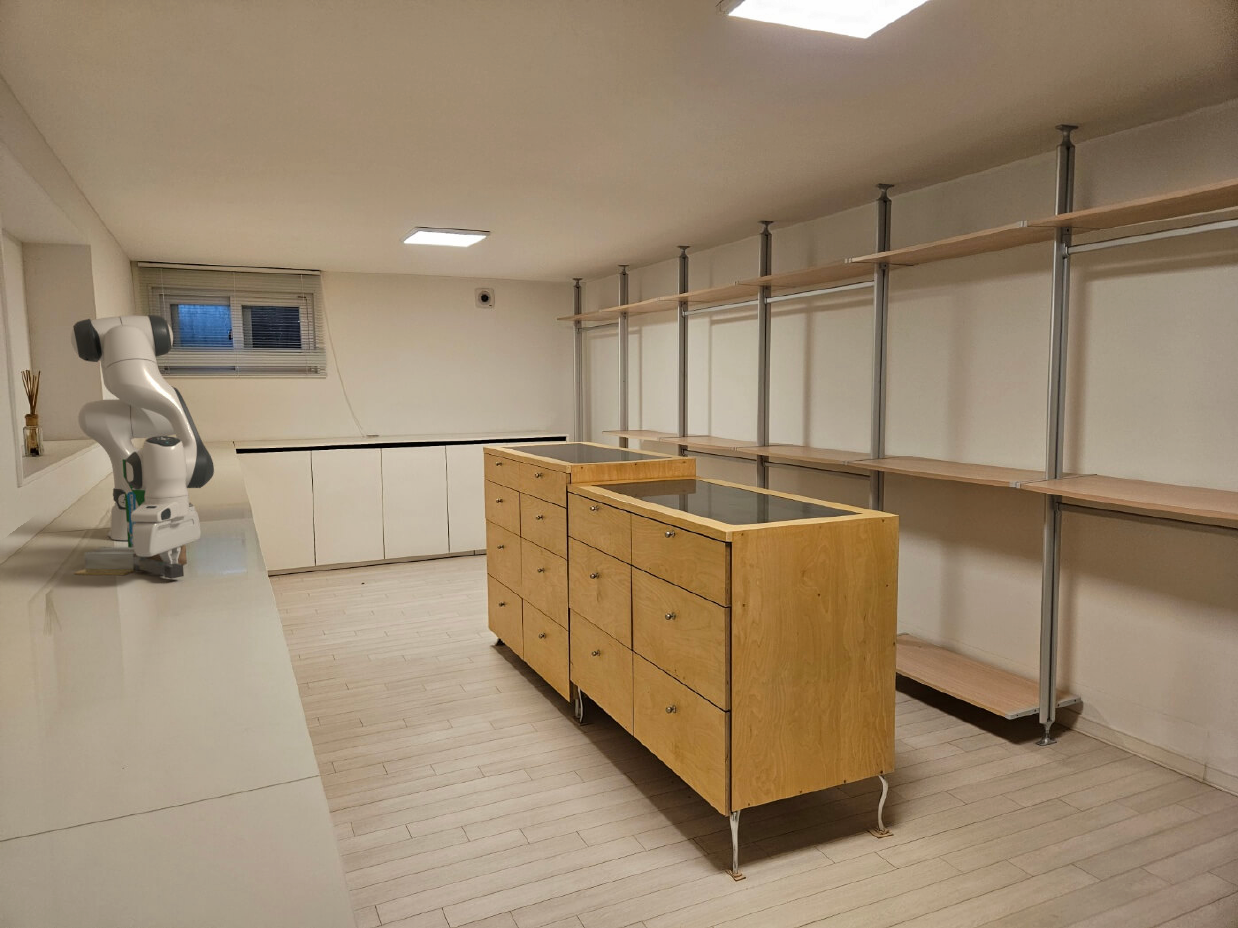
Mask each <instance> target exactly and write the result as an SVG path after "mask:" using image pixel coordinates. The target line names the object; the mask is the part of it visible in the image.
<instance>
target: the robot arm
mask: <svg viewBox="0 0 1238 928" xmlns="http://www.w3.org/2000/svg"><path fill="white" fill-rule="evenodd" d="M72 328H73V329H72V331H71V333H70V334H71V335H70V342H71V346H72V348H73V350H74V352H75V353H76V354H77V355H78V358H80V359H81V360H83V361H85V362H90V363H91V362H92V363H98V362H100V367H101V373H102V379H103V385H104V387H105V388H106V390H107V391H108V392H109V393H110V394H112V395H113V396H114V397H116V398H117V399H101V400H95V401H91V402H90V401H89V402H86V403H85V404H84V405H82V406H81V409H80V411H79V413H78V415H77V416H78V417H77V419H78V420H77V421H78V424H79V428H80V429H81V431H82V432H83V434H85V435H86V436H87V437H88V438H90V439H92V440H94V441H95V442H97V443H98V444H99V445H100V446H101V447H102V448H103V450H104V451H105V452H106V454H107V455H108V457H109V460H110V462H111V463H110V464H111V468H112V473H113V480H114V481H113V484H114V485H113V486H114V488H113V489H112V497H113V499H112V500H113V501H114V502H115V503H114V505H113V506H112V507H111V514H110V515H111V517H110V531H108V532H107V537H110V539H112V540H117V541H128V536H127V520H126V505H125V490H124V475H123V459H126V460H125V474H126V482H127V483H128V484H129V485H131V486H132V487H133V488H135V489H137V490H144V491H145V496H144V497H145V502H143V503H142V504H141V505H140V506H139V507H138V508H137V509H136V510H134V511H133V512H132V513H131V520H132V522H136V523H135V524H134V526H133V546H134V551H135V553H136V555H137V556H141V557H151V556H154V555H157V554H159V555H160V557H161V559H162V560H163V562H166V563H170V564H176V563H177V564H178V557H179V554H180V551H181V546H182V545H187V544H190V543H193V542H195V541H199V540H200V538H201V536H202V532H201V524H200V517H199V513H198V511H196V507H195V506H194V504H192V502H190V497H189V496H190V495H189V491H188V489H202V487H204V486H206V484H208V483H209V481H210V480H211V479H212V478H213V476H214V473H215V469H214V467H215V466H214V462H213V458H212V456H211V454H210V452H209V450H208V449H207V448H206V446H205V444H204V442H203V441H202V438H201V436H200V433H199V431H198V428H197V426H196V424H195V422H194V419H193V417H192V415H191V412H190V411H189V408H188V406H187V404H186V402H185V400H184V398H183V396H182V394H181V392H180V391H179V390H178V388H177V387H174V386H172V385H170V384H169V383H168V381H167V380H166V379H165V378H164V377H163V375H162V373H161V372H160V370H159V366H158V361H157V358H156V357H161V356H164V355H167V354H168V353H169V352H170V351H171V350H172V346H173V342H174V332H173V330H172V327H171V326H170V325H169V323H168V321H167V320H166V319H165V318H164V317H163V316H159V315H155V314H148V316H147V315H119V316H110V317H109V316H108V317H101V318H95V319H91V318H88V319H84V320H79V321H77V322H75V324H74V325H73V326H72ZM174 435H175V437H174ZM144 438H145V440H144V441H143V445H142V446H143V447H142V448H141V449H140V448H138V447H136V446H134V444H133V443H132V440H134V439H144Z"/></svg>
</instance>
